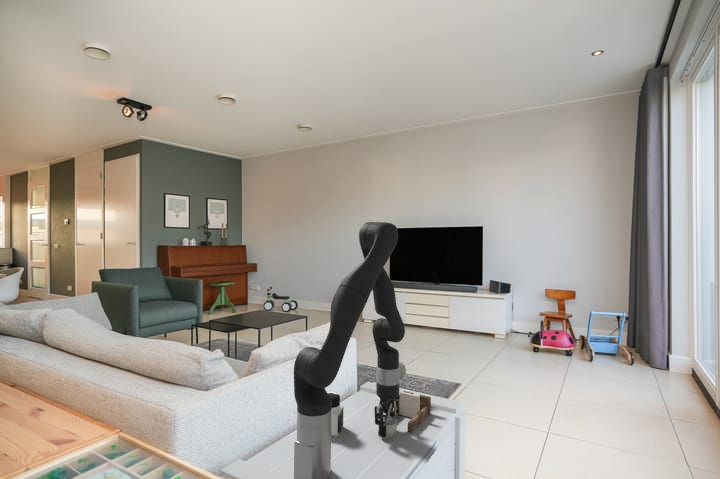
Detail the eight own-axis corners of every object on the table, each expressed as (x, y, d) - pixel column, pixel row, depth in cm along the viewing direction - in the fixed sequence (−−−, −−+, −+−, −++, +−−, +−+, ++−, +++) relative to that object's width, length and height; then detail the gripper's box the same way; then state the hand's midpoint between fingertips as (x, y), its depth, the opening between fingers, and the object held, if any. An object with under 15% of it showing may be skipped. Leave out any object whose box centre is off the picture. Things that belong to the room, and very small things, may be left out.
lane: (411, 432, 128) (411, 414, 128) (382, 424, 134) (382, 407, 134) (430, 413, 143) (430, 396, 143) (403, 406, 149) (403, 390, 149)
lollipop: (385, 396, 158) (385, 359, 159) (401, 394, 161) (401, 357, 161) (391, 403, 152) (392, 364, 152) (408, 401, 154) (408, 363, 154)
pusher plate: (418, 419, 137) (418, 396, 137) (399, 414, 141) (399, 392, 141) (425, 412, 143) (425, 390, 143) (407, 407, 147) (407, 386, 147)
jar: (391, 440, 123) (391, 424, 123) (374, 435, 126) (374, 420, 126) (399, 432, 128) (400, 417, 128) (383, 427, 131) (383, 413, 131)
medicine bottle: (338, 437, 125) (338, 399, 125) (316, 434, 126) (317, 397, 126) (343, 426, 132) (343, 391, 132) (323, 424, 133) (323, 389, 133)
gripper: (388, 389, 119) (387, 444, 119) (407, 376, 131) (406, 426, 131) (366, 385, 123) (366, 438, 123) (387, 372, 135) (387, 420, 135)
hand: (387, 431), depth 127 cm, fingers closed on jar, 6 cm apart
